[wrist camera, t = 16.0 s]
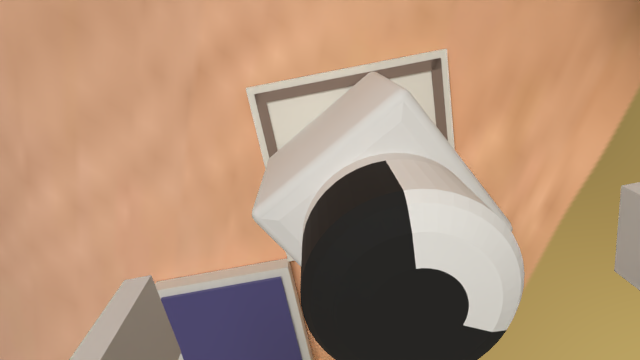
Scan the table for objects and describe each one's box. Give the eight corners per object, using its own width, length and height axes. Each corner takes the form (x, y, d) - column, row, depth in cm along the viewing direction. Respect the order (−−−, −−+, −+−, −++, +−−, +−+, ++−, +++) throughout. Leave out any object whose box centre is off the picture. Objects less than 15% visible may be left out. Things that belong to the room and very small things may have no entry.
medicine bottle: (351, 249, 23) (391, 453, 12) (265, 159, 21) (217, 301, 10) (455, 172, 22) (611, 320, 11) (373, 67, 20) (457, 112, 9)
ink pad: (195, 383, 27) (190, 398, 26) (156, 281, 24) (149, 293, 23) (314, 363, 27) (314, 378, 25) (288, 258, 24) (287, 269, 23)
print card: (288, 258, 24) (288, 262, 23) (246, 87, 21) (245, 88, 20) (458, 227, 24) (461, 231, 23) (444, 48, 20) (447, 49, 20)
